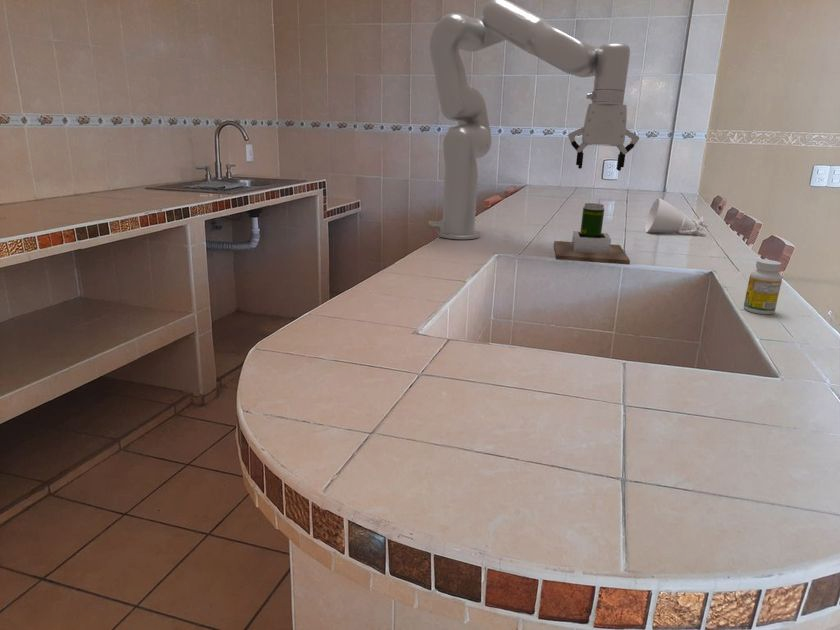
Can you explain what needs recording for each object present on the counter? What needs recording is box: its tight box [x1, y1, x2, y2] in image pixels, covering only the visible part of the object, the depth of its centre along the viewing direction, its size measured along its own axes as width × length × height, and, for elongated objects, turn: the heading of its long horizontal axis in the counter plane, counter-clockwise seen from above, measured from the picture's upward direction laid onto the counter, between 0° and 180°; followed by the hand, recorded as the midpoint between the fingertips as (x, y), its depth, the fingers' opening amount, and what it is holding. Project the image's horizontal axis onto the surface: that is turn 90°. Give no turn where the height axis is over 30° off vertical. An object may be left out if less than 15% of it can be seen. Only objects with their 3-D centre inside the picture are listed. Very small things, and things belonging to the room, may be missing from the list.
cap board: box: [553, 230, 631, 265], centre depth 160 cm, size 18×20×5 cm
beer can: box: [579, 202, 605, 238], centre depth 158 cm, size 5×5×12 cm
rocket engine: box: [644, 197, 709, 237], centre depth 194 cm, size 12×12×18 cm
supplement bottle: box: [743, 259, 783, 315], centre depth 113 cm, size 5×5×10 cm
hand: (599, 169), depth 154 cm, fingers open, 9 cm apart
